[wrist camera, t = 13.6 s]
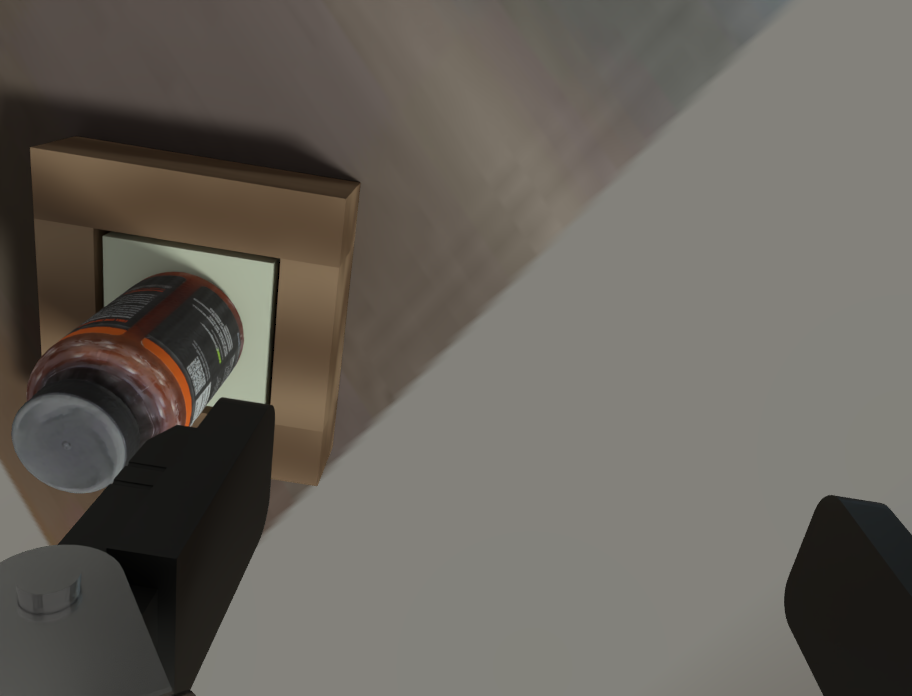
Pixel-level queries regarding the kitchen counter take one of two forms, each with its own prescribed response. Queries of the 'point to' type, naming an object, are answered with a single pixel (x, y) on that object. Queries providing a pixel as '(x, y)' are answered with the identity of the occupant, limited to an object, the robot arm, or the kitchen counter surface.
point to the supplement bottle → (126, 380)
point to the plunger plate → (230, 271)
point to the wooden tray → (219, 226)
